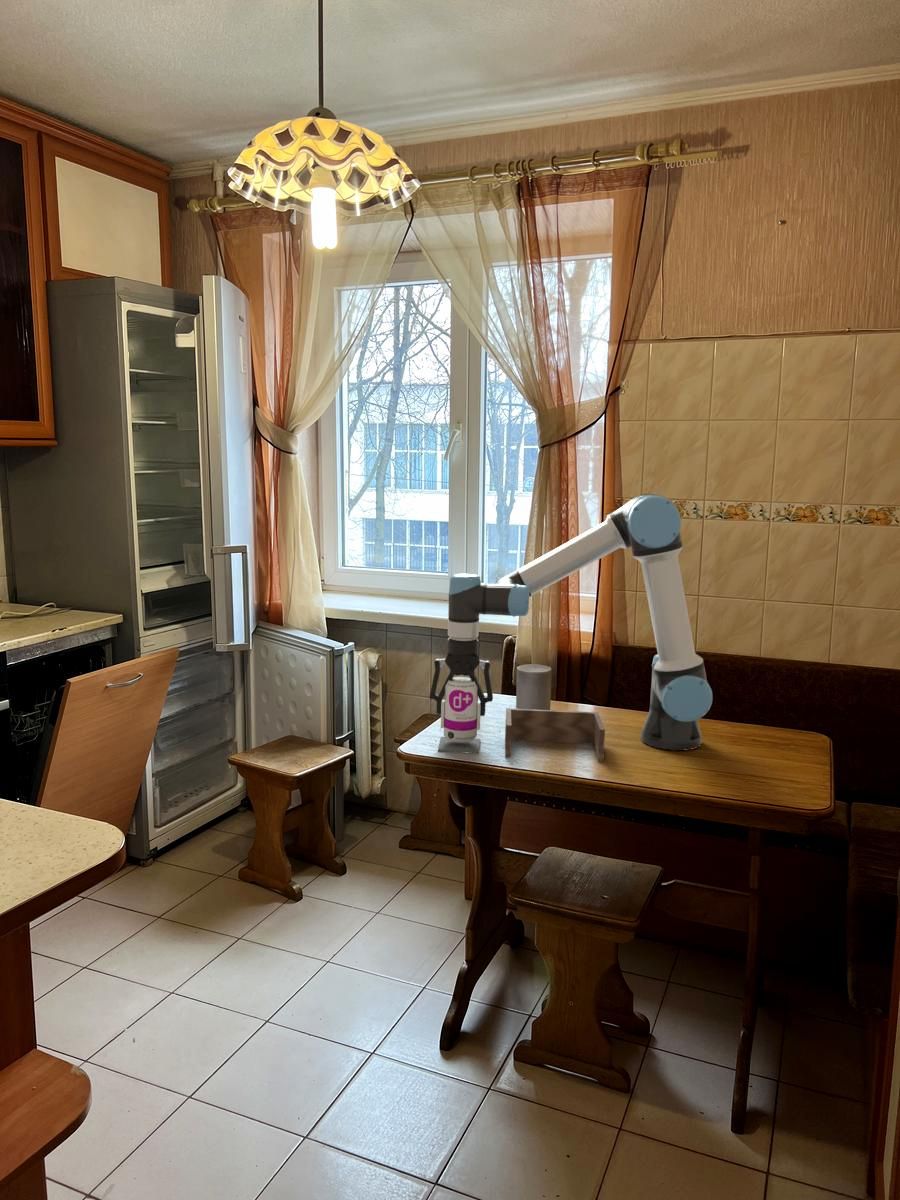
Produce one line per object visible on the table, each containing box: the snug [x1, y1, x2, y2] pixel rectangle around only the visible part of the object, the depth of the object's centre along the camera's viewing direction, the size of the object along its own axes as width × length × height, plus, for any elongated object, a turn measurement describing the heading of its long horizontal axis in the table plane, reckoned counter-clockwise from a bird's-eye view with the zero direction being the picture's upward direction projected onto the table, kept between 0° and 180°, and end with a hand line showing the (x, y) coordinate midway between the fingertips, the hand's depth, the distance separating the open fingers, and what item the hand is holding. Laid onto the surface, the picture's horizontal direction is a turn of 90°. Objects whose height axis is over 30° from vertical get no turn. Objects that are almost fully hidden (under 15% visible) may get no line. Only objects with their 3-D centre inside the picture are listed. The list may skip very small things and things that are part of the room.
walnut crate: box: [504, 707, 606, 763], centre depth 221 cm, size 23×15×8 cm, turn 87°
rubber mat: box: [437, 736, 481, 754], centre depth 223 cm, size 10×10×1 cm
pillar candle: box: [515, 663, 552, 710], centre depth 251 cm, size 10×10×15 cm
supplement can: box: [443, 675, 479, 743], centre depth 221 cm, size 8×8×15 cm
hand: (460, 727), depth 222 cm, fingers closed on supplement can, 8 cm apart
